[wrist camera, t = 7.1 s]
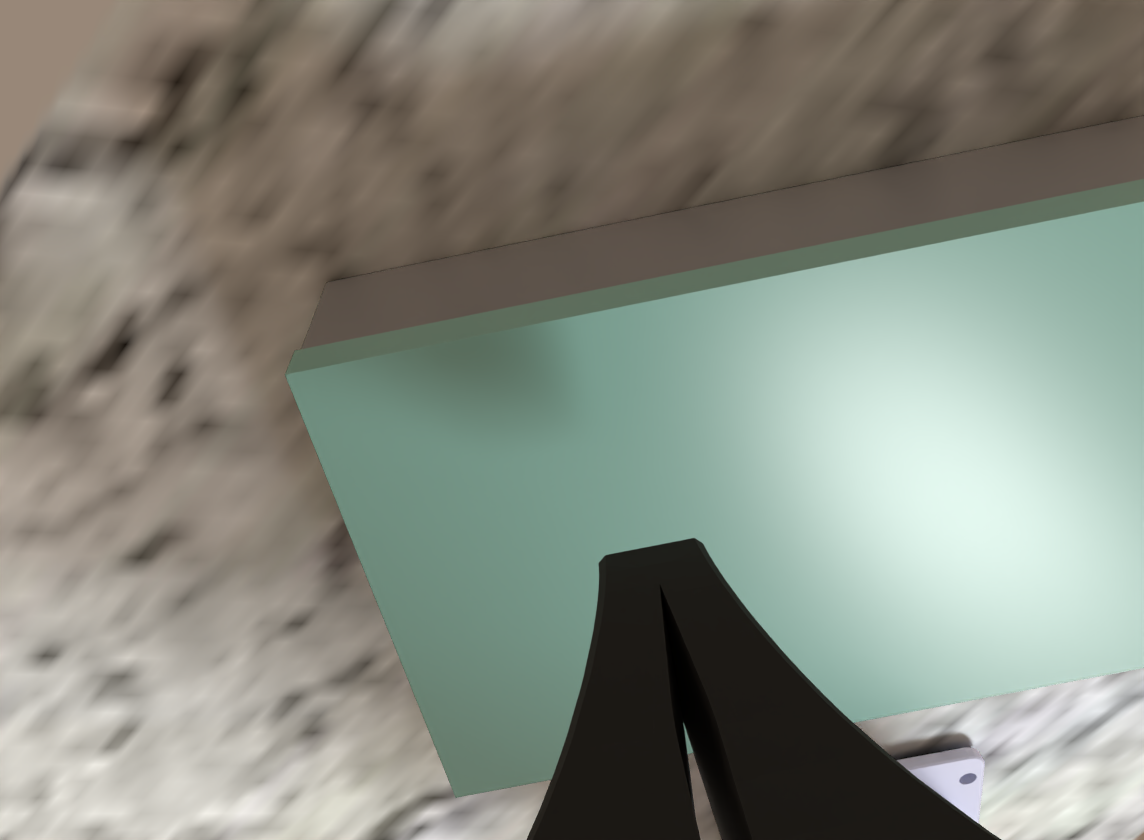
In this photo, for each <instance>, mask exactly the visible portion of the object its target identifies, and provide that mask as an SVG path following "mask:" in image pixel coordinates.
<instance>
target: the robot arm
mask: <svg viewBox="0 0 1144 840" xmlns="http://www.w3.org/2000/svg"><path fill="white" fill-rule="evenodd" d="M598 564H599V589H598V601H597V609H596V616H595V622H594V629H593V635H592V639H591V644H590V649H589V653H588V658H587V663H586V667H585V672H584V677H583V681H582V685H581V688H580V692H579V695H578V699H577V702H576V706H575V709H574V713H573V716H572V720H571V723H570V726H569V730H568V733H567V737H566V740H565V743H564V746H563V749H562V752H561V755H560V757H559V760H558V763H557V766H556V769H555V772H554V774H553V777H552V780H551V782H550V785H549V787H548V790H547V793H546V795H545V798H544V800H543V803H542V805H541V808H540V810H539V813H538V815H537V817H536V819H535V822H534V824H533V826H532V829H531V831H530V833H529V836H528V838H527V840H700V836H699V831H698V827H697V823H696V817H695V809H694V801H693V794H692V786H691V778H690V770H689V762H688V754H687V746H686V738H685V730H684V725H685V728H686V731H687V734H688V738H689V741H690V744H691V747H692V750H693V753H694V756H695V759H696V762H697V765H698V768H699V771H700V774H701V777H702V780H703V784H704V787H705V790H706V793H707V796H708V799H709V802H710V805H711V808H712V811H713V814H714V817H715V820H716V823H717V826H718V829H719V832H720V835H721V838H722V840H1001V839H999V838H998V837H996V836H995V835H994V834H992V833H991V832H989V831H988V830H986V829H985V828H984V827H982V826H981V825H980V824H979V815H980V805H981V796H982V787H983V777H984V768H985V762H984V759H983V757H982V756H981V754H980V752H979V751H978V750H977V749H975V748H971V747H965V748H959V749H953V750H948V751H943V752H937V753H932V754H927V755H921V756H916V757H911V758H905V759H900V760H895V759H894V758H893V757H892V756H891V755H889V754H888V753H887V752H886V751H885V750H883V749H882V748H881V747H880V746H879V745H878V744H876V743H875V742H874V741H873V740H872V739H871V738H870V737H869V736H868V735H866V734H865V733H864V732H863V731H862V730H861V729H860V728H859V727H857V726H856V725H855V724H854V723H853V722H852V721H851V720H850V719H849V718H848V717H847V716H845V715H844V714H843V713H842V712H841V711H840V710H839V709H838V708H837V707H836V706H835V705H834V704H833V703H832V702H831V701H830V700H829V699H828V698H827V697H826V696H825V695H824V694H823V693H822V692H821V691H820V690H819V689H818V688H817V687H816V686H815V685H814V684H813V683H812V682H811V681H810V680H809V679H808V678H807V677H806V676H805V675H804V674H803V673H802V672H801V671H800V669H799V668H798V667H797V666H796V665H795V664H794V663H793V662H792V661H791V660H790V659H789V657H788V656H787V655H786V654H785V653H784V652H783V651H782V650H781V649H780V647H779V646H778V645H777V644H776V643H775V642H774V640H773V639H772V638H771V637H770V636H769V635H768V633H767V632H766V631H765V630H764V629H763V627H762V626H761V625H760V624H759V623H758V622H757V620H756V619H755V618H754V617H753V616H752V614H751V613H750V612H749V611H748V609H747V608H746V607H745V605H744V604H743V603H742V602H741V600H740V599H739V598H738V596H737V595H736V593H735V592H734V591H733V589H732V588H731V587H730V585H729V584H728V583H727V581H726V580H725V578H724V577H723V575H722V574H721V573H720V571H719V569H718V568H717V566H716V565H715V563H714V562H713V560H712V558H711V557H710V555H709V553H708V552H707V550H706V548H705V546H704V544H703V543H702V542H700V541H699V540H697V539H695V538H691V539H686V540H681V541H675V542H670V543H665V544H660V545H655V546H650V547H644V548H639V549H634V550H629V551H624V552H619V553H613V554H608V555H605V556H604V557H603V558H602V560H601V561H600V562H599V563H598Z"/></svg>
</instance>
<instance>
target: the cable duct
mask: <svg viewBox="0 0 1144 840" xmlns="http://www.w3.org/2000/svg"><path fill="white" fill-rule="evenodd" d="M1141 179H1144V116H1139V117H1135V118H1130V119H1125V120H1120V121H1115V122H1110V123H1105V124H1100V125H1095V126H1090V127H1086V128H1081V129H1076V130H1071V131H1066V132H1061V133H1056V134H1051V135H1046V136H1041V137H1037V138H1032V139H1027V140H1022V141H1017V142H1012V143H1007V144H1002V145H997V146H992V147H988V148H983V149H978V150H973V151H968V152H963V153H958V154H953V155H948V156H943V157H939V158H934V159H929V160H924V161H919V162H914V163H909V164H904V165H899V166H894V167H890V168H885V169H880V170H875V171H870V172H865V173H860V174H855V175H850V176H845V177H840V178H836V179H831V180H826V181H821V182H816V183H811V184H806V185H801V186H796V187H791V188H787V189H782V190H777V191H772V192H767V193H762V194H757V195H752V196H747V197H742V198H738V199H733V200H728V201H723V202H718V203H713V204H708V205H703V206H698V207H693V208H689V209H684V210H679V211H674V212H669V213H664V214H659V215H654V216H649V217H644V218H640V219H635V220H630V221H625V222H620V223H615V224H610V225H605V226H600V227H595V228H591V229H586V230H581V231H576V232H571V233H566V234H561V235H556V236H551V237H546V238H542V239H537V240H532V241H527V242H522V243H517V244H512V245H507V246H502V247H497V248H493V249H488V250H483V251H478V252H473V253H468V254H463V255H458V256H453V257H448V258H444V259H439V260H434V261H429V262H424V263H419V264H414V265H409V266H404V267H399V268H395V269H390V270H385V271H380V272H375V273H370V274H365V275H360V276H355V277H350V278H346V279H341V280H336V281H331V282H327V283H326V285H325V288H324V291H323V293H322V296H321V298H320V301H319V304H318V306H317V309H316V311H315V314H314V317H313V319H312V322H311V324H310V327H309V330H308V332H307V335H306V337H305V340H304V343H303V345H302V348H301V349H306V348H310V347H315V346H320V345H325V344H330V343H335V342H340V341H345V340H350V339H355V338H360V337H365V336H370V335H375V334H380V333H385V332H390V331H394V330H399V329H404V328H409V327H414V326H419V325H424V324H429V323H434V322H439V321H444V320H449V319H454V318H459V317H464V316H469V315H474V314H479V313H483V312H488V311H493V310H498V309H503V308H508V307H513V306H518V305H523V304H528V303H533V302H538V301H543V300H548V299H553V298H558V297H563V296H568V295H572V294H577V293H582V292H587V291H592V290H597V289H602V288H607V287H612V286H617V285H622V284H627V283H632V282H637V281H642V280H647V279H652V278H657V277H661V276H666V275H671V274H676V273H681V272H686V271H691V270H696V269H701V268H706V267H711V266H716V265H721V264H726V263H731V262H736V261H741V260H745V259H750V258H755V257H760V256H765V255H770V254H775V253H780V252H785V251H790V250H795V249H800V248H805V247H810V246H815V245H820V244H825V243H830V242H834V241H839V240H844V239H849V238H854V237H859V236H864V235H869V234H874V233H879V232H884V231H889V230H894V229H899V228H904V227H909V226H914V225H919V224H923V223H928V222H933V221H938V220H943V219H948V218H953V217H958V216H963V215H968V214H973V213H978V212H983V211H988V210H993V209H998V208H1003V207H1007V206H1012V205H1017V204H1022V203H1027V202H1032V201H1037V200H1042V199H1047V198H1052V197H1057V196H1062V195H1067V194H1072V193H1077V192H1082V191H1087V190H1092V189H1096V188H1101V187H1106V186H1111V185H1116V184H1121V183H1126V182H1131V181H1136V180H1141Z"/></svg>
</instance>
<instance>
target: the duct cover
mask: <svg viewBox="0 0 1144 840" xmlns="http://www.w3.org/2000/svg"><path fill="white" fill-rule="evenodd" d="M285 376H286V378H287V381H288V383H289V386H290V388H291V391H292V393H293V396H294V398H295V401H296V403H297V406H298V408H299V411H300V413H301V416H302V418H303V421H304V423H305V426H306V428H307V430H308V433H309V435H310V438H311V440H312V443H313V445H314V448H315V450H316V453H317V455H318V458H319V460H320V463H321V465H322V468H323V470H324V473H325V475H326V478H327V480H328V482H329V485H330V487H331V490H332V492H333V495H334V497H335V500H336V502H337V505H338V507H339V510H340V512H341V515H342V517H343V520H344V522H345V525H346V527H347V530H348V532H349V535H350V537H351V539H352V542H353V544H354V547H355V549H356V552H357V554H358V557H359V559H360V562H361V564H362V567H363V569H364V572H365V574H366V577H367V579H368V582H369V584H370V587H371V589H372V592H373V594H374V596H375V599H376V601H377V604H378V606H379V609H380V611H381V614H382V616H383V619H384V621H385V624H386V626H387V629H388V631H389V634H390V636H391V639H392V641H393V644H394V646H395V648H396V651H397V653H398V656H399V658H400V661H401V663H402V666H403V668H404V671H405V673H406V676H407V678H408V681H409V683H410V686H411V688H412V691H413V693H414V696H415V698H416V701H417V703H418V705H419V708H420V710H421V713H422V715H423V718H424V720H425V723H426V725H427V728H428V730H429V733H430V735H431V738H432V740H433V743H434V745H435V748H436V750H437V753H438V755H439V758H440V760H441V762H442V765H443V767H444V770H445V772H446V775H447V777H448V780H449V782H450V785H451V787H452V790H453V792H454V795H455V797H456V798H457V797H462V796H468V795H473V794H478V793H483V792H489V791H494V790H499V789H505V788H510V787H515V786H521V785H526V784H531V783H536V782H542V781H547V780H552V777H553V774H554V772H555V769H556V766H557V763H558V760H559V757H560V755H561V752H562V749H563V746H564V743H565V740H566V737H567V733H568V730H569V726H570V723H571V720H572V716H573V713H574V709H575V706H576V702H577V699H578V695H579V692H580V688H581V685H582V681H583V677H584V672H585V667H586V663H587V658H588V653H589V649H590V644H591V639H592V635H593V629H594V622H595V616H596V609H597V601H598V589H599V564H598V563H599V562H600V561H601V560H602V558H603V557H604V556H605V555H608V554H613V553H619V552H624V551H629V550H634V549H639V548H644V547H650V546H655V545H660V544H665V543H670V542H675V541H681V540H686V539H691V538H695V539H697V540H699V541H700V542H702V543H703V544H704V546H705V548H706V550H707V552H708V553H709V555H710V557H711V558H712V560H713V562H714V563H715V565H716V566H717V568H718V569H719V571H720V573H721V574H722V575H723V577H724V578H725V580H726V581H727V583H728V584H729V585H730V587H731V588H732V589H733V591H734V592H735V593H736V595H737V596H738V598H739V599H740V600H741V602H742V603H743V604H744V605H745V607H746V608H747V609H748V611H749V612H750V613H751V614H752V616H753V617H754V618H755V619H756V620H757V622H758V623H759V624H760V625H761V626H762V627H763V629H764V630H765V631H766V632H767V633H768V635H769V636H770V637H771V638H772V639H773V640H774V642H775V643H776V644H777V645H778V646H779V647H780V649H781V650H782V651H783V652H784V653H785V654H786V655H787V656H788V657H789V659H790V660H791V661H792V662H793V663H794V664H795V665H796V666H797V667H798V668H799V669H800V671H801V672H802V673H803V674H804V675H805V676H806V677H807V678H808V679H809V680H810V681H811V682H812V683H813V684H814V685H815V686H816V687H817V688H818V689H819V690H820V691H821V692H822V693H823V694H824V695H825V696H826V697H827V698H828V699H829V700H830V701H831V702H832V703H833V704H834V705H835V706H836V707H837V708H838V709H839V710H840V711H841V712H842V713H843V714H844V715H845V716H847V717H848V718H849V719H850V720H851V721H852V722H853V723H855V722H860V721H865V720H871V719H876V718H881V717H886V716H892V715H897V714H902V713H908V712H913V711H918V710H924V709H929V708H934V707H939V706H945V705H950V704H955V703H961V702H966V701H971V700H977V699H982V698H987V697H992V696H998V695H1003V694H1008V693H1014V692H1019V691H1024V690H1030V689H1035V688H1040V687H1045V686H1051V685H1056V684H1061V683H1067V682H1072V681H1077V680H1083V679H1088V678H1093V677H1099V676H1104V675H1109V674H1114V673H1120V672H1125V671H1130V670H1136V669H1141V668H1144V179H1141V180H1136V181H1131V182H1126V183H1121V184H1116V185H1111V186H1106V187H1101V188H1096V189H1092V190H1087V191H1082V192H1077V193H1072V194H1067V195H1062V196H1057V197H1052V198H1047V199H1042V200H1037V201H1032V202H1027V203H1022V204H1017V205H1012V206H1007V207H1003V208H998V209H993V210H988V211H983V212H978V213H973V214H968V215H963V216H958V217H953V218H948V219H943V220H938V221H933V222H928V223H923V224H919V225H914V226H909V227H904V228H899V229H894V230H889V231H884V232H879V233H874V234H869V235H864V236H859V237H854V238H849V239H844V240H839V241H834V242H830V243H825V244H820V245H815V246H810V247H805V248H800V249H795V250H790V251H785V252H780V253H775V254H770V255H765V256H760V257H755V258H750V259H745V260H741V261H736V262H731V263H726V264H721V265H716V266H711V267H706V268H701V269H696V270H691V271H686V272H681V273H676V274H671V275H666V276H661V277H657V278H652V279H647V280H642V281H637V282H632V283H627V284H622V285H617V286H612V287H607V288H602V289H597V290H592V291H587V292H582V293H577V294H572V295H568V296H563V297H558V298H553V299H548V300H543V301H538V302H533V303H528V304H523V305H518V306H513V307H508V308H503V309H498V310H493V311H488V312H483V313H479V314H474V315H469V316H464V317H459V318H454V319H449V320H444V321H439V322H434V323H429V324H424V325H419V326H414V327H409V328H404V329H399V330H394V331H390V332H385V333H380V334H375V335H370V336H365V337H360V338H355V339H350V340H345V341H340V342H335V343H330V344H325V345H320V346H315V347H310V348H306V349H301V350H296V351H294V354H293V356H292V359H291V361H290V364H289V366H288V369H287V371H286V373H285ZM684 730H685V738H686V746H687V754H690V753H693V750H692V747H691V744H690V741H689V738H688V734H687V731H686V728H685V725H684Z"/></svg>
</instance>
